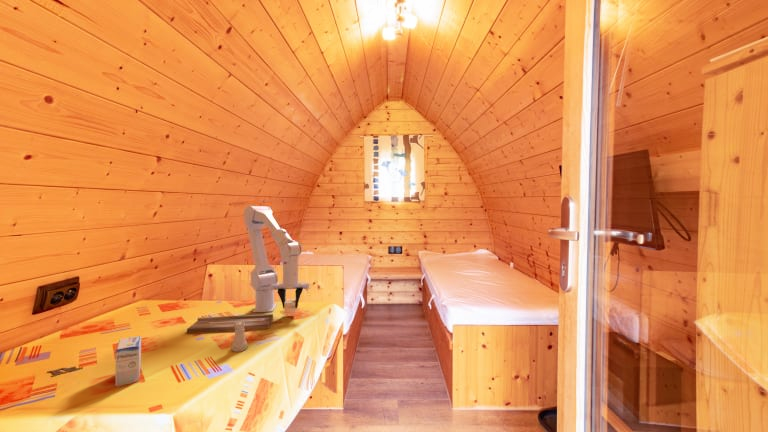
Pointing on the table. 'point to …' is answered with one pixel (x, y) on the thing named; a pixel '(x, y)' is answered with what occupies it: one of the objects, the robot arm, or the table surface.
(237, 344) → the rook chess piece
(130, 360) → the medicine box
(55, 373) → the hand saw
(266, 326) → the walnut board
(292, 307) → the block
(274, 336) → the table surface
